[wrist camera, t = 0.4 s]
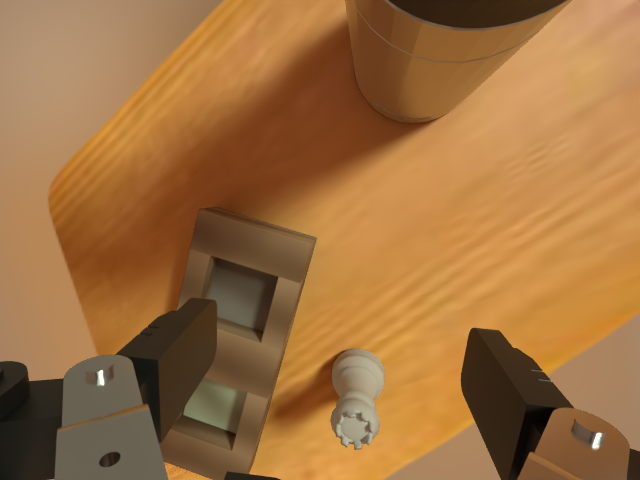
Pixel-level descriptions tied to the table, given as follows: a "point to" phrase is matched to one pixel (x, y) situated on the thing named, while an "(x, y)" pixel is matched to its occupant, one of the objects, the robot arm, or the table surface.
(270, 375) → the slot rail
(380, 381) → the rook chess piece
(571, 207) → the table surface
